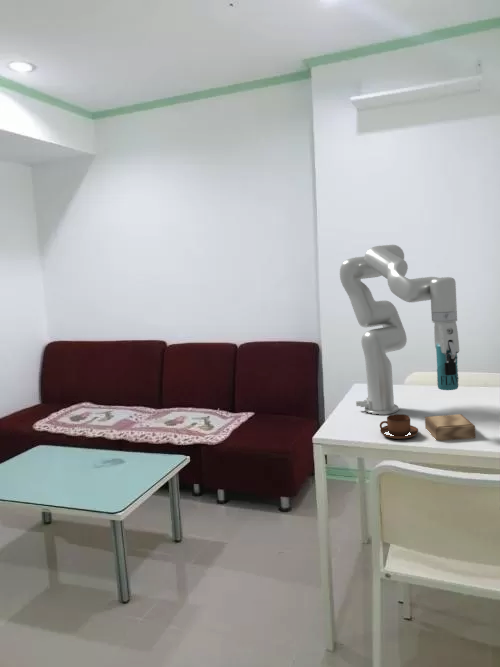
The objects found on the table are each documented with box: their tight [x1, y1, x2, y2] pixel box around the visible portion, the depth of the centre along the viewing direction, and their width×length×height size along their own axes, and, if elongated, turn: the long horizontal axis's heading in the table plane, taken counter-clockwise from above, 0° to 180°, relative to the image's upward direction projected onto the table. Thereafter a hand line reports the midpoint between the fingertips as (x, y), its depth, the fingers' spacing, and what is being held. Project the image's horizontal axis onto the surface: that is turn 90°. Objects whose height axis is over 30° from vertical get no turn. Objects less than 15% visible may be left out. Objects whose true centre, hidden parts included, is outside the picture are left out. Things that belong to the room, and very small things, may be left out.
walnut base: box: [424, 413, 476, 441], centre depth 166 cm, size 12×12×4 cm
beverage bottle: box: [435, 343, 459, 391], centre depth 163 cm, size 6×7×20 cm
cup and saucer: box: [379, 413, 419, 440], centre depth 169 cm, size 12×12×6 cm
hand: (446, 371), depth 164 cm, fingers closed on beverage bottle, 6 cm apart
